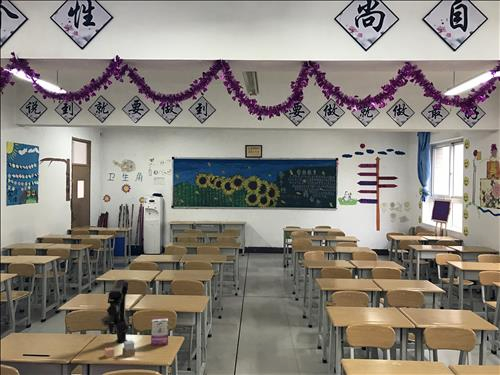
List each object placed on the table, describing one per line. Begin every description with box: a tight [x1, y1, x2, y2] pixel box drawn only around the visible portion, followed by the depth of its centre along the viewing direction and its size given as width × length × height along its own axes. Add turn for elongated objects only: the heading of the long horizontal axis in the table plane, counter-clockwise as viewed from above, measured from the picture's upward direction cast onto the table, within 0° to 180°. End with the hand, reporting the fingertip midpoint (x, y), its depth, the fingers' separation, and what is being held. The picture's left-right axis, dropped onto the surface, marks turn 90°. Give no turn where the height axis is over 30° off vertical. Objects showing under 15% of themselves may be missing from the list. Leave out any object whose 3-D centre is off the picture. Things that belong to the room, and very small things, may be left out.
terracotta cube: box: [104, 347, 115, 359], centre depth 272 cm, size 4×4×4 cm
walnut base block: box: [121, 347, 136, 358], centre depth 275 cm, size 6×6×4 cm
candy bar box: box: [150, 318, 169, 346], centre depth 295 cm, size 11×5×16 cm, turn 101°
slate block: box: [123, 339, 135, 351], centre depth 275 cm, size 5×5×4 cm
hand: (114, 335), depth 273 cm, fingers open, 9 cm apart
